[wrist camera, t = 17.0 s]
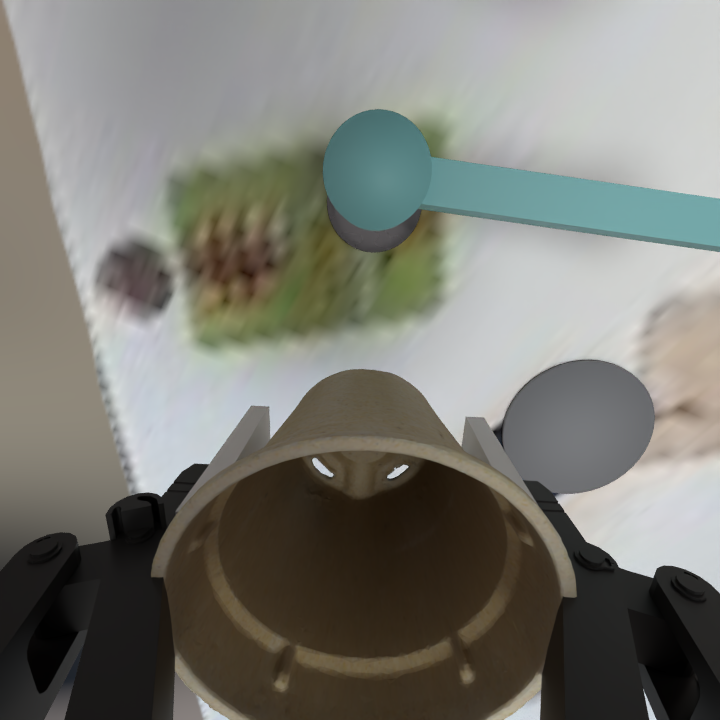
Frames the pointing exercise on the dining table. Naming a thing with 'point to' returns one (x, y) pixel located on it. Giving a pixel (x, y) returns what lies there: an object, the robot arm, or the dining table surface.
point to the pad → (578, 426)
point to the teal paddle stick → (495, 190)
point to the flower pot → (362, 570)
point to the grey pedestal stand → (371, 232)
